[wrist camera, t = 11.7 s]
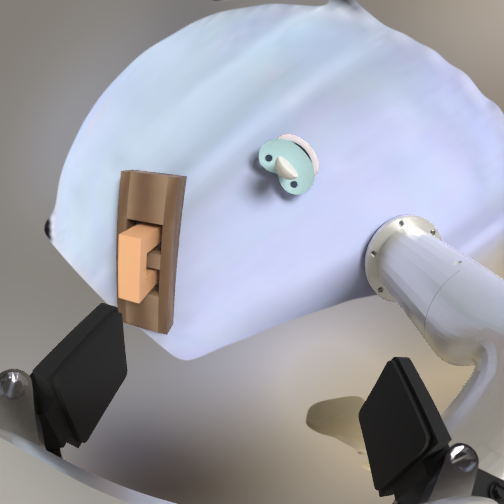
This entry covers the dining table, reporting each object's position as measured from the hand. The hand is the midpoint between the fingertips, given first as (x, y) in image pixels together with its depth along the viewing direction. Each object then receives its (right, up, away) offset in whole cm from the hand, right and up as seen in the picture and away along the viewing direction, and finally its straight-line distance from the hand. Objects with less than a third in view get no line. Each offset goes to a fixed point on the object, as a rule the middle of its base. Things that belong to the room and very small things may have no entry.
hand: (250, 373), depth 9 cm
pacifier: (+5, +15, +25) cm, 30 cm away
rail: (-14, +4, +29) cm, 33 cm away
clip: (-14, +4, +30) cm, 33 cm away
